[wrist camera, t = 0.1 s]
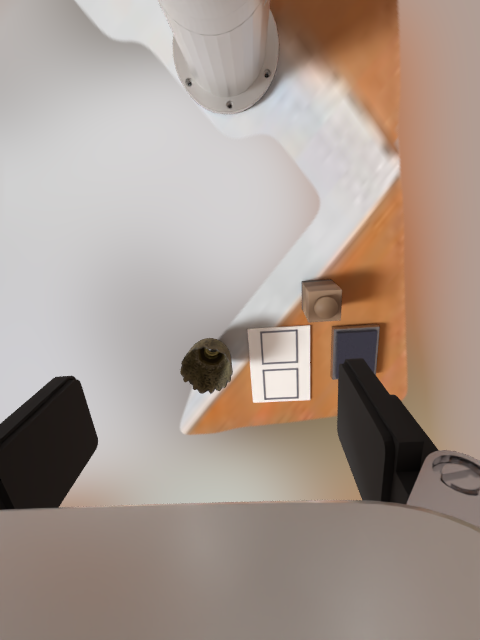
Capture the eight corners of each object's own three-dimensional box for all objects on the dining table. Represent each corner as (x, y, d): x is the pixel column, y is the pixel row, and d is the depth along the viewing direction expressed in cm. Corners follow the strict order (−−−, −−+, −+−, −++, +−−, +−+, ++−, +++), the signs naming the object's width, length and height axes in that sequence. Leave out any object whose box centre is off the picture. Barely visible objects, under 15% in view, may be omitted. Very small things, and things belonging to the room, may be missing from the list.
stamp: (301, 281, 46) (309, 293, 40) (331, 279, 46) (344, 291, 40) (301, 308, 48) (309, 325, 41) (330, 307, 48) (342, 323, 41)
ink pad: (331, 326, 49) (334, 330, 47) (376, 323, 48) (381, 328, 47) (330, 375, 52) (333, 381, 50) (372, 373, 51) (376, 379, 50)
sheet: (247, 328, 49) (247, 329, 49) (309, 324, 49) (310, 325, 48) (253, 401, 54) (253, 402, 54) (309, 398, 54) (310, 400, 53)
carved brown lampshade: (181, 344, 51) (169, 367, 43) (214, 318, 49) (208, 338, 41) (211, 374, 53) (204, 402, 45) (244, 350, 51) (242, 375, 43)
